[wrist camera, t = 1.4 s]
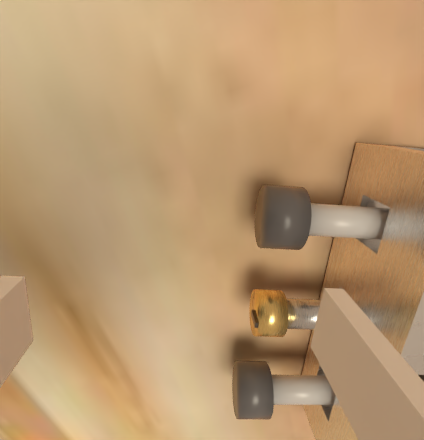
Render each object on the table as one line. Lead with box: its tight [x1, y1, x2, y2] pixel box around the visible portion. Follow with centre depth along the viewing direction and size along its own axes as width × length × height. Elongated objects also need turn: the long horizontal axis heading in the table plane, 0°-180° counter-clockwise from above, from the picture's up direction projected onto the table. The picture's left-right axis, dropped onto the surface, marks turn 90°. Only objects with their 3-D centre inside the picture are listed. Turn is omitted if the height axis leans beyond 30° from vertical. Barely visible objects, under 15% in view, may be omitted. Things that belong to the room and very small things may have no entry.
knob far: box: [232, 361, 336, 419], centre depth 30 cm, size 11×5×5 cm, turn 85°
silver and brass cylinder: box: [250, 289, 321, 337], centre depth 27 cm, size 11×4×4 cm, turn 85°
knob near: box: [255, 185, 390, 250], centre depth 24 cm, size 11×5×5 cm, turn 85°
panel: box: [302, 143, 424, 440], centre depth 27 cm, size 8×30×12 cm, turn 175°
